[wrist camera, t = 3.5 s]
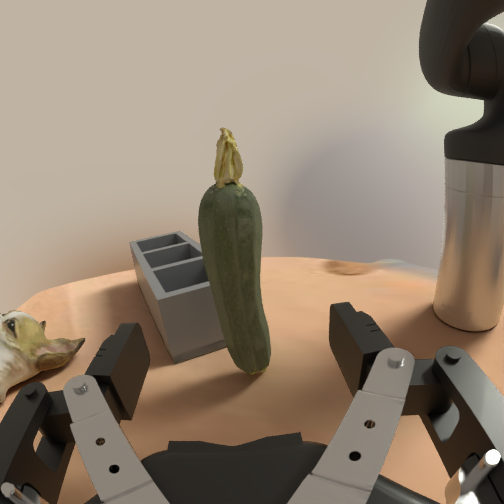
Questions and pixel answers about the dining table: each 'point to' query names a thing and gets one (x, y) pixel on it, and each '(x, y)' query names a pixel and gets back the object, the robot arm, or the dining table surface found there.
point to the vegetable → (235, 259)
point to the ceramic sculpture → (29, 349)
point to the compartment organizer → (178, 294)
